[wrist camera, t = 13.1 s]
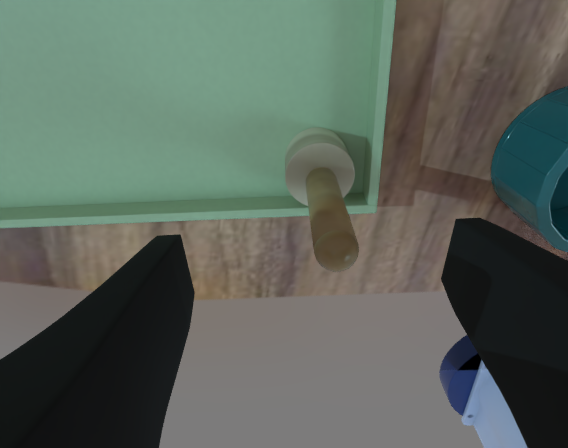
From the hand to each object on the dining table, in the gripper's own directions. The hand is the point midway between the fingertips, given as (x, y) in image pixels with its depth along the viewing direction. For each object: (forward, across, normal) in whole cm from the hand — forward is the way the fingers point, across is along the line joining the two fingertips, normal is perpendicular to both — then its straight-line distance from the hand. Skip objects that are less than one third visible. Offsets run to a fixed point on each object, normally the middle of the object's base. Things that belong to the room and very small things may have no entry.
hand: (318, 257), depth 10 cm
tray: (+11, +8, -3) cm, 14 cm away
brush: (+10, -1, +1) cm, 10 cm away
